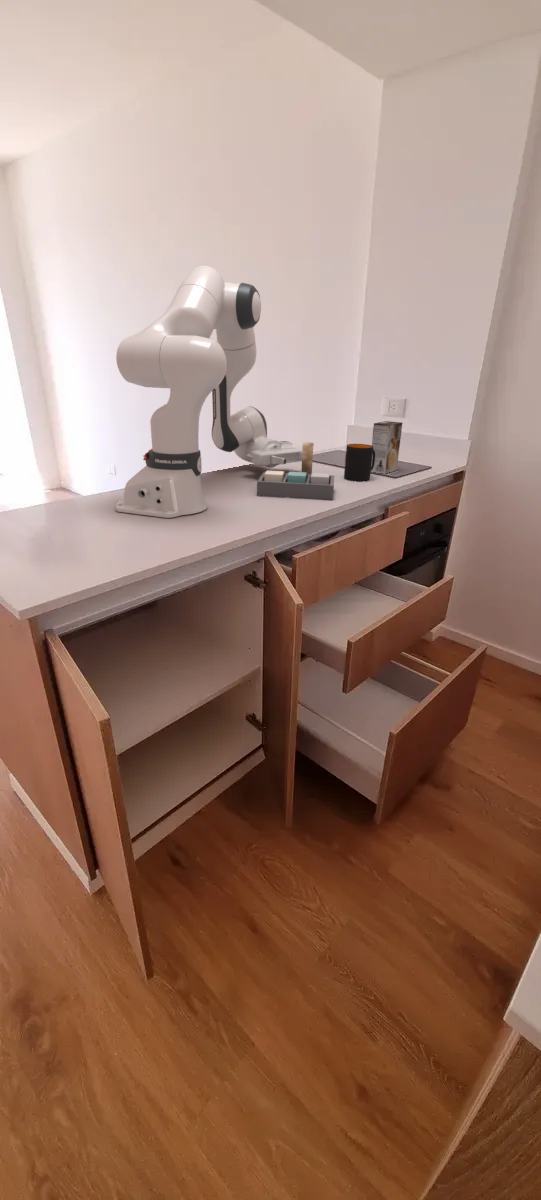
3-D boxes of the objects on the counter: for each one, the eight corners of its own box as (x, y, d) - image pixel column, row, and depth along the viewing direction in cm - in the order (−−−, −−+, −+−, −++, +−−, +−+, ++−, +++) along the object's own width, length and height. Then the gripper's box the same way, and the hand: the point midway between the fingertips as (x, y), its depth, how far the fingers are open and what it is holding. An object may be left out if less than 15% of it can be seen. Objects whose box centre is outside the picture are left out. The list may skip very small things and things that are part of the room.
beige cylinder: (300, 484, 158) (302, 443, 153) (301, 482, 161) (303, 442, 156) (310, 485, 158) (313, 444, 153) (311, 482, 161) (313, 442, 156)
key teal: (287, 485, 146) (287, 475, 145) (288, 482, 151) (289, 471, 149) (304, 486, 146) (305, 476, 144) (306, 483, 150) (306, 472, 149)
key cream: (264, 484, 147) (264, 474, 145) (266, 480, 151) (266, 470, 150) (281, 485, 146) (282, 474, 145) (283, 481, 151) (284, 471, 149)
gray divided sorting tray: (256, 495, 144) (257, 481, 143) (263, 485, 156) (263, 471, 154) (332, 500, 142) (333, 485, 140) (333, 489, 154) (334, 475, 152)
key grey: (310, 487, 145) (310, 476, 144) (311, 483, 150) (311, 472, 149) (328, 488, 145) (328, 477, 144) (328, 484, 149) (329, 473, 148)
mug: (382, 478, 169) (386, 445, 165) (357, 482, 162) (361, 448, 158) (363, 473, 175) (366, 442, 171) (338, 478, 168) (341, 445, 164)
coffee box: (380, 468, 185) (385, 420, 178) (397, 470, 181) (403, 422, 174) (368, 472, 178) (373, 422, 171) (385, 474, 174) (391, 424, 168)
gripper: (243, 445, 163) (270, 452, 153) (292, 441, 174) (321, 447, 165) (242, 466, 165) (269, 473, 156) (292, 460, 177) (319, 467, 167)
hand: (296, 460), depth 160 cm, fingers open, 8 cm apart
